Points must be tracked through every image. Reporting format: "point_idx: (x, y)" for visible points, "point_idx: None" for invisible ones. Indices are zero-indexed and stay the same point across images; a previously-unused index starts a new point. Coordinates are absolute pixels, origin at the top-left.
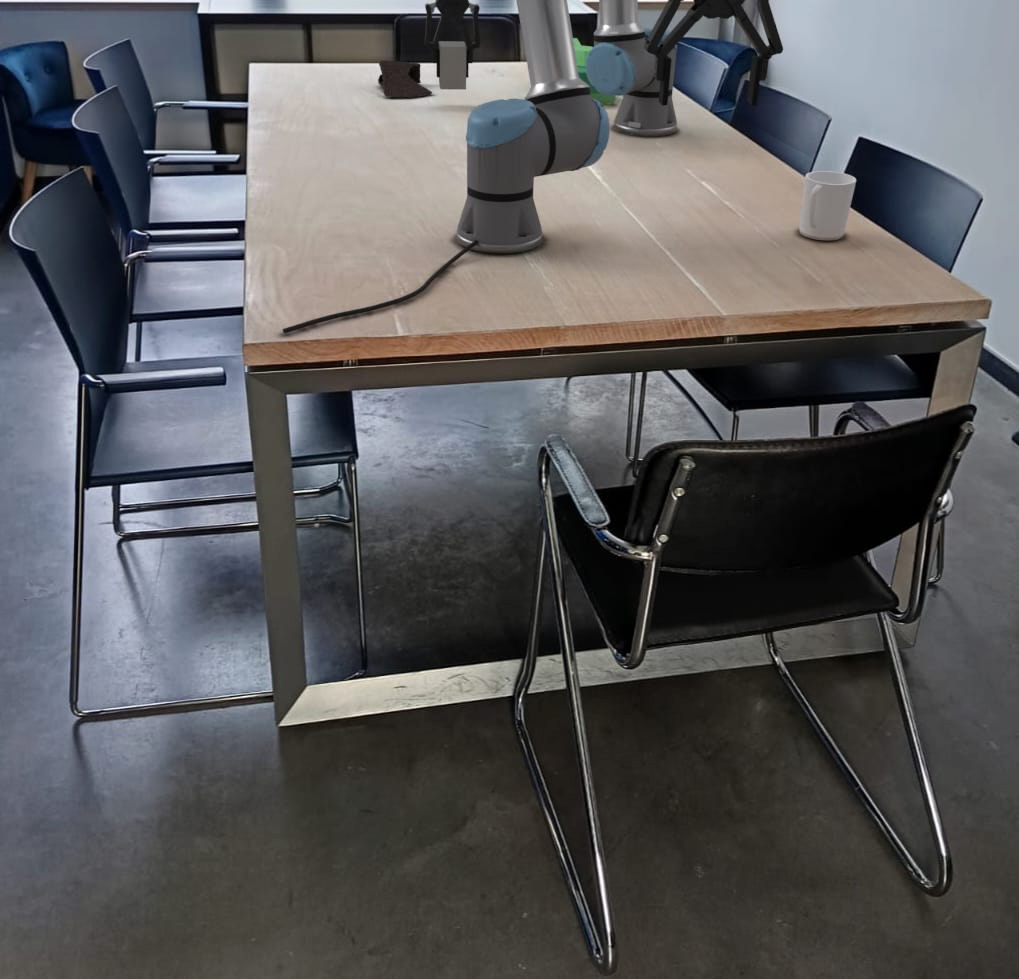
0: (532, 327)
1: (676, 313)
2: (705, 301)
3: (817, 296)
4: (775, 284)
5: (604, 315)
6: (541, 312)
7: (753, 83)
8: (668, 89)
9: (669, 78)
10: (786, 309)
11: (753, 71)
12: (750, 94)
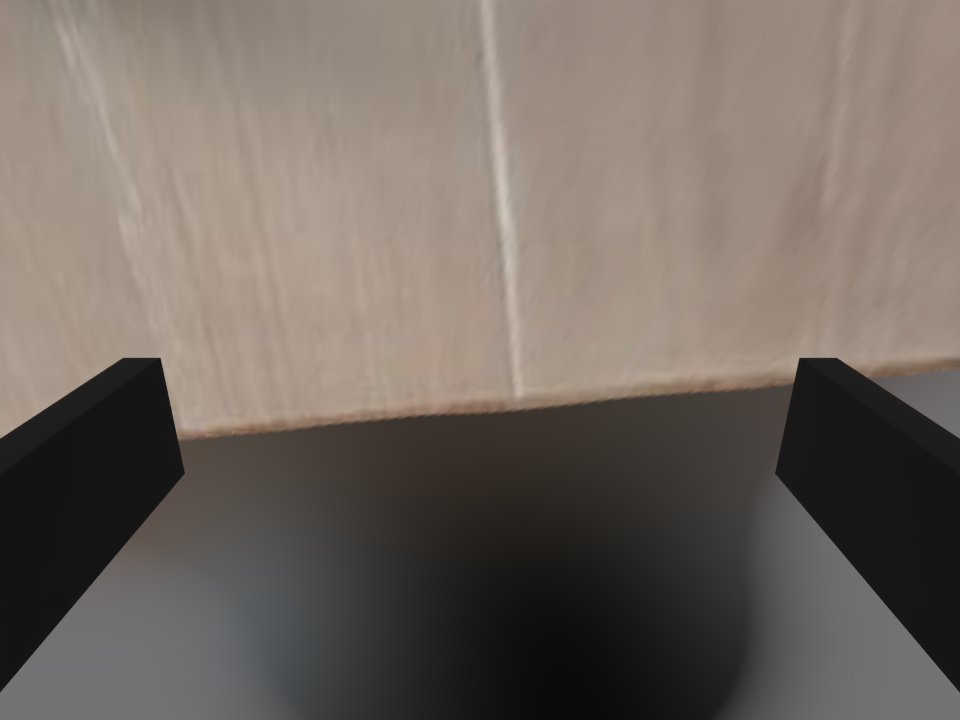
0: None
1: (417, 384)
2: (497, 323)
3: (768, 305)
4: (703, 224)
5: (263, 387)
6: None
7: (862, 548)
8: (126, 538)
9: (72, 606)
10: (662, 374)
11: (940, 579)
12: (819, 453)
